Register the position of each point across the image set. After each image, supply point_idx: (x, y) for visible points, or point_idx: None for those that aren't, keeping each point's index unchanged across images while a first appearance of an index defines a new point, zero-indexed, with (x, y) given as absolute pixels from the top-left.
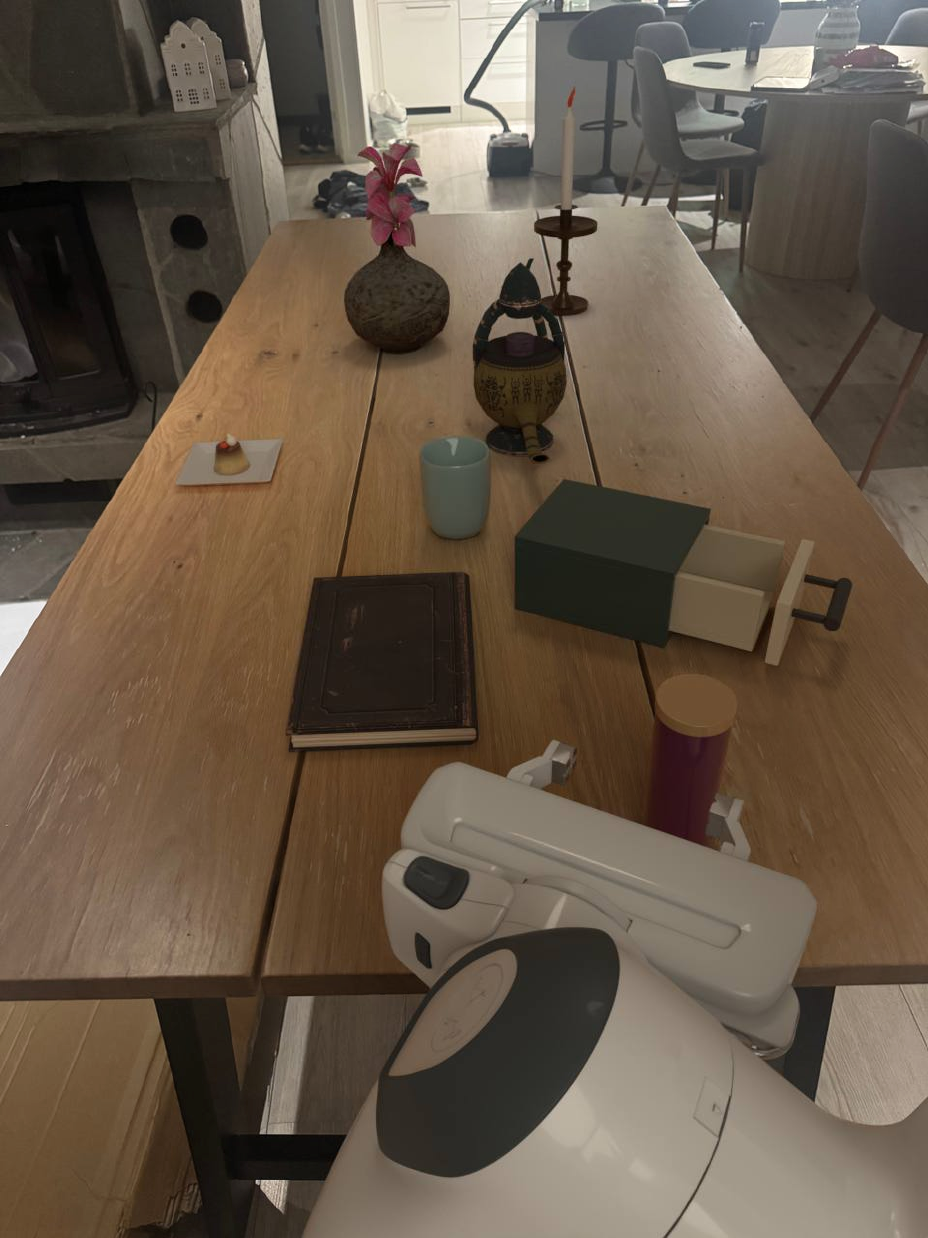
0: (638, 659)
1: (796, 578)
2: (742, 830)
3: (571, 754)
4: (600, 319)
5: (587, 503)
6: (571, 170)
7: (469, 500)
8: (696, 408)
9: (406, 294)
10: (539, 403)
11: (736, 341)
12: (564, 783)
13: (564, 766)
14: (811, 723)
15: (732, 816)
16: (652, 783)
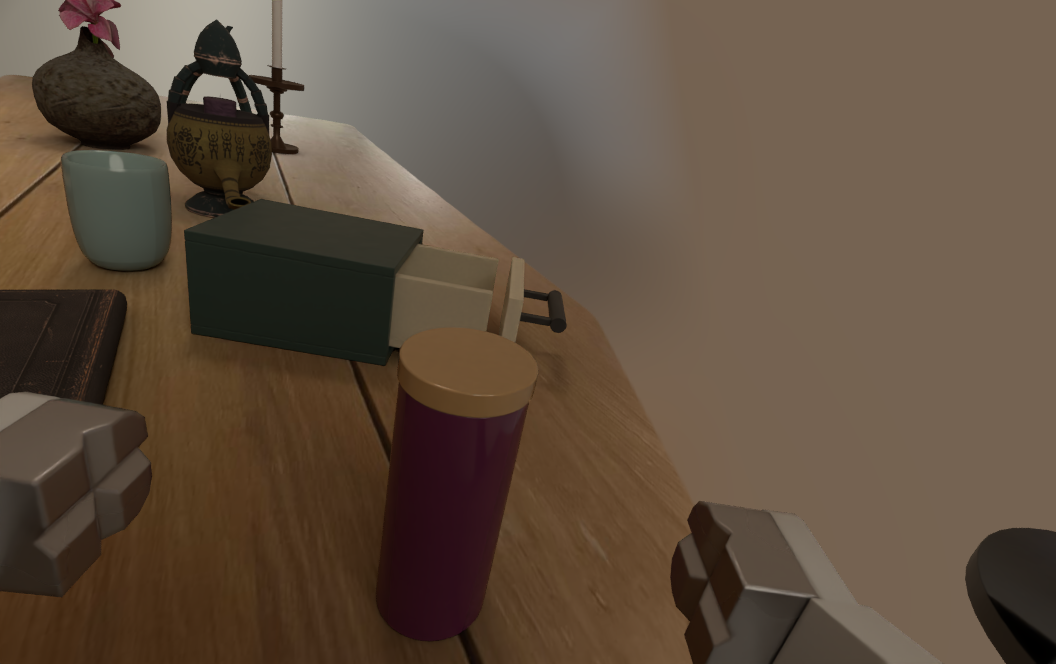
0: (355, 378)
1: (519, 281)
2: (920, 648)
3: (102, 440)
4: (308, 158)
5: (288, 215)
6: (280, 37)
7: (136, 216)
8: (391, 207)
9: (106, 85)
10: (241, 162)
11: (415, 181)
12: (55, 584)
13: (33, 497)
14: (556, 426)
15: (828, 586)
16: (396, 525)
